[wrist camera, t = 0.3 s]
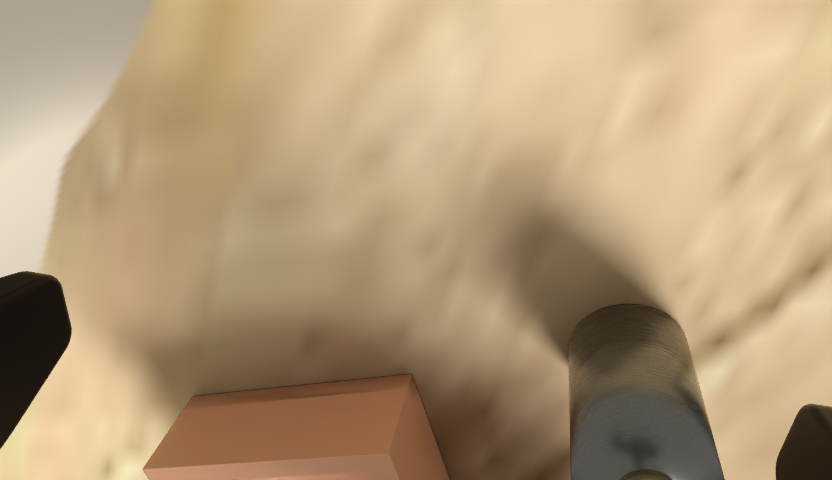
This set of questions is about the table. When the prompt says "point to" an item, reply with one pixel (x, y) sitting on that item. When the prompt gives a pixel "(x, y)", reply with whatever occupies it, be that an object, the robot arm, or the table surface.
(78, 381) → the table surface
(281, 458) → the bin
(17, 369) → the robot arm
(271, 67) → the table surface
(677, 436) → the battery cell
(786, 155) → the table surface
